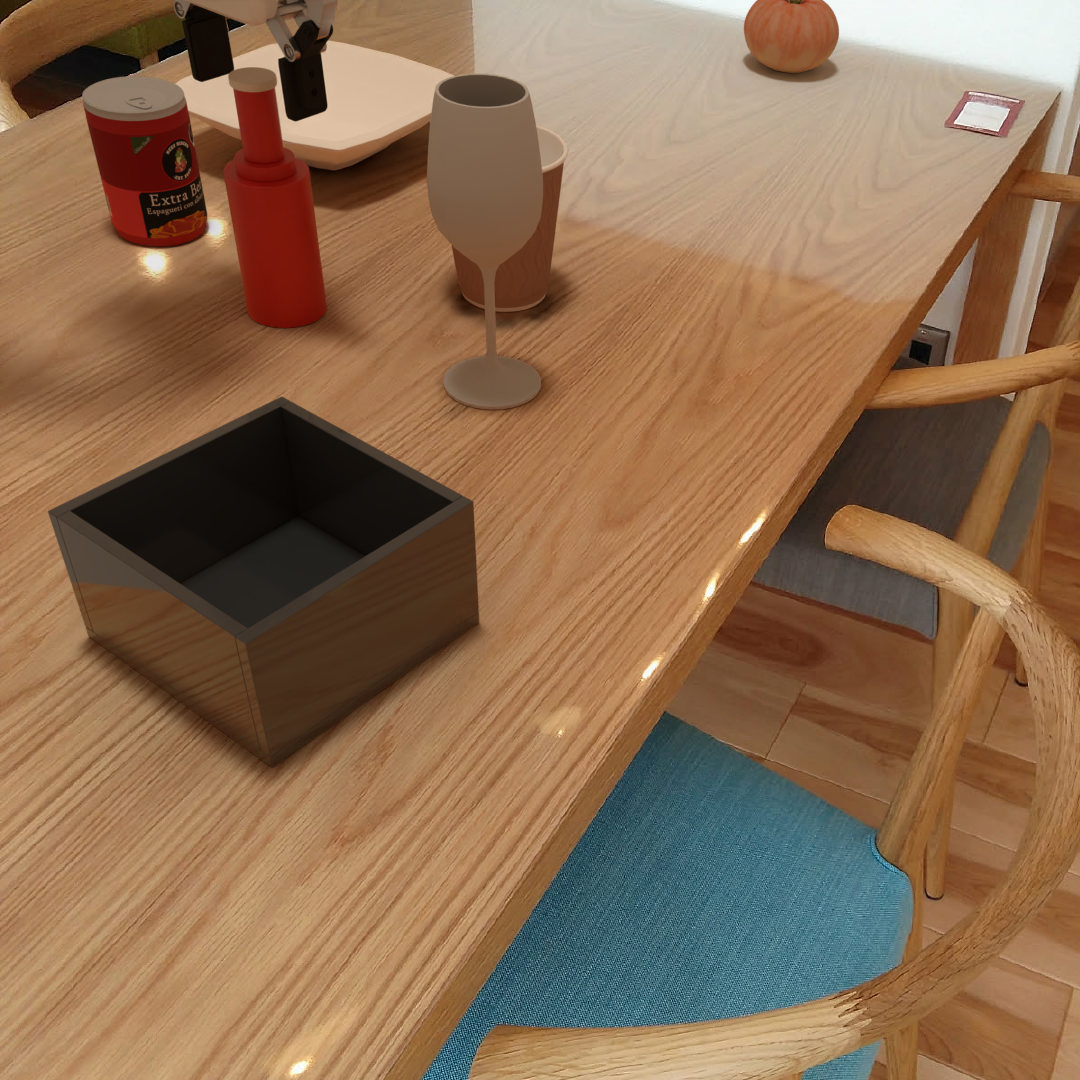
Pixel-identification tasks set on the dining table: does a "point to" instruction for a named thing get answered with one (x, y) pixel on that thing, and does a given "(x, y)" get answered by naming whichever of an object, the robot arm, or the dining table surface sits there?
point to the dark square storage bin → (272, 573)
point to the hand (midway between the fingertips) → (260, 95)
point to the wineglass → (486, 210)
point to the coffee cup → (531, 265)
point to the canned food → (146, 159)
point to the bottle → (272, 211)
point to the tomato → (791, 33)
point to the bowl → (333, 103)
